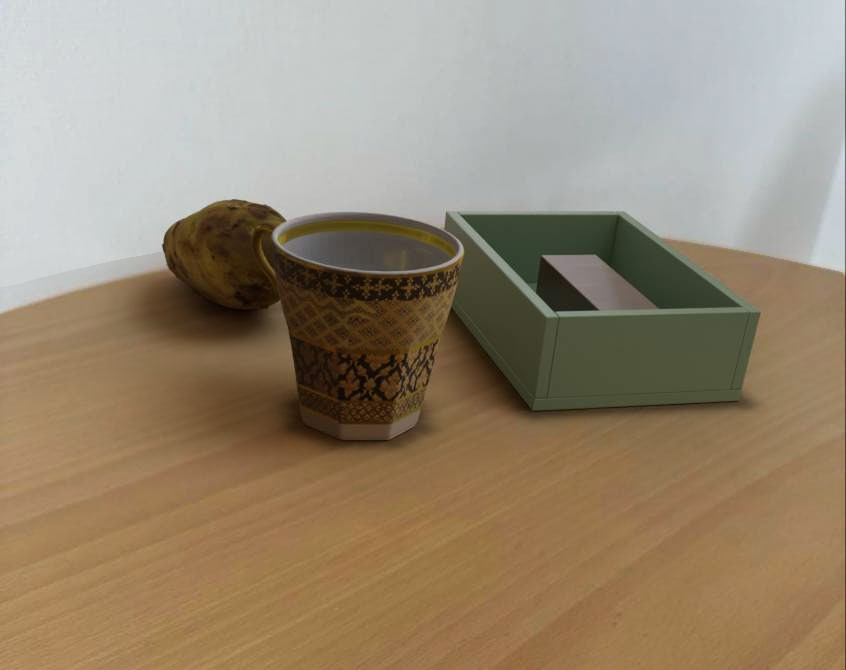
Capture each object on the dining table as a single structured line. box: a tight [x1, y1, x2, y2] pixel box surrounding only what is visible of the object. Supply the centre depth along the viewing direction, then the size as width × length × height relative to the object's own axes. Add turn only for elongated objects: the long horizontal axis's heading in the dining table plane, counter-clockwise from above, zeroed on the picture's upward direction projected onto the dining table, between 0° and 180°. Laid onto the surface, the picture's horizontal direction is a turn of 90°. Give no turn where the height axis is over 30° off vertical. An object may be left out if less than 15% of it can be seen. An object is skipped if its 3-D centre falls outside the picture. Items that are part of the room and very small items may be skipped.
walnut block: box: [536, 255, 659, 313], centre depth 73 cm, size 4×4×12 cm
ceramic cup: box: [251, 211, 464, 441], centre depth 63 cm, size 13×10×10 cm
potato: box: [161, 198, 287, 311], centre depth 74 cm, size 8×13×8 cm, turn 13°
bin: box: [443, 210, 762, 412], centre depth 75 cm, size 14×20×6 cm
